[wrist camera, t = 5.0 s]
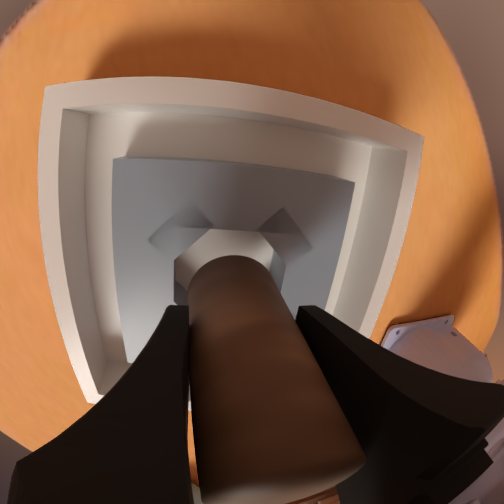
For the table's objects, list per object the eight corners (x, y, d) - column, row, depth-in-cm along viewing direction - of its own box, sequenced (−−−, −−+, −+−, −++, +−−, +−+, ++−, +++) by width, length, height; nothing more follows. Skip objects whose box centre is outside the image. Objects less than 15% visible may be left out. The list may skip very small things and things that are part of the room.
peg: (281, 256, 11) (395, 434, 4) (266, 328, 12) (332, 491, 5) (188, 253, 10) (199, 476, 3) (186, 328, 12) (202, 513, 4)
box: (381, 133, 13) (424, 136, 10) (322, 361, 19) (342, 394, 16) (78, 97, 10) (45, 86, 6) (98, 363, 15) (87, 402, 12)
